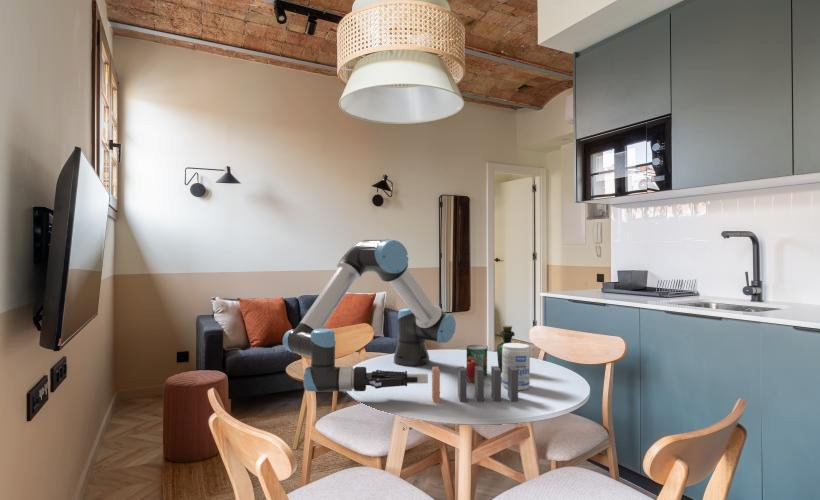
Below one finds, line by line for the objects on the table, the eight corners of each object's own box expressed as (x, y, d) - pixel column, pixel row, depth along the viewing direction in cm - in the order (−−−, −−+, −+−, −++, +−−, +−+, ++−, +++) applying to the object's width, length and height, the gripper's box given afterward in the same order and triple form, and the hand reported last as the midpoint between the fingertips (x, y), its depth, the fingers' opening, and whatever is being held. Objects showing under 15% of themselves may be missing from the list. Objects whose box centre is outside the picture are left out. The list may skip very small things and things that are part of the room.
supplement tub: (519, 392, 157) (520, 349, 157) (496, 386, 164) (496, 345, 164) (534, 386, 164) (535, 345, 164) (511, 381, 171) (512, 341, 171)
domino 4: (511, 401, 148) (511, 370, 148) (507, 396, 153) (507, 366, 153) (517, 401, 148) (518, 370, 148) (513, 396, 153) (513, 366, 153)
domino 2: (477, 401, 148) (477, 370, 148) (474, 396, 153) (474, 366, 153) (483, 401, 148) (483, 370, 148) (480, 396, 153) (480, 366, 153)
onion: (479, 380, 172) (480, 358, 172) (482, 384, 167) (482, 362, 167) (464, 379, 172) (464, 358, 172) (466, 384, 167) (466, 362, 167)
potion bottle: (499, 374, 180) (500, 328, 180) (494, 369, 188) (494, 324, 188) (520, 374, 181) (520, 327, 180) (513, 368, 189) (514, 324, 189)
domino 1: (460, 402, 148) (460, 370, 148) (457, 396, 153) (458, 366, 153) (466, 401, 148) (466, 370, 148) (463, 396, 153) (464, 366, 153)
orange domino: (433, 402, 147) (433, 370, 147) (431, 397, 152) (432, 366, 152) (439, 402, 147) (439, 370, 147) (438, 397, 152) (438, 366, 152)
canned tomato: (491, 376, 177) (491, 347, 177) (475, 379, 173) (475, 349, 173) (478, 371, 184) (478, 343, 184) (462, 374, 180) (462, 346, 180)
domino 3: (494, 401, 148) (494, 370, 148) (491, 396, 153) (491, 366, 153) (500, 401, 148) (501, 370, 148) (497, 396, 153) (497, 366, 153)
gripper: (355, 384, 155) (426, 384, 156) (351, 397, 142) (429, 396, 143) (355, 362, 155) (426, 361, 156) (351, 372, 142) (429, 372, 143)
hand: (427, 378), depth 149 cm, fingers closed
